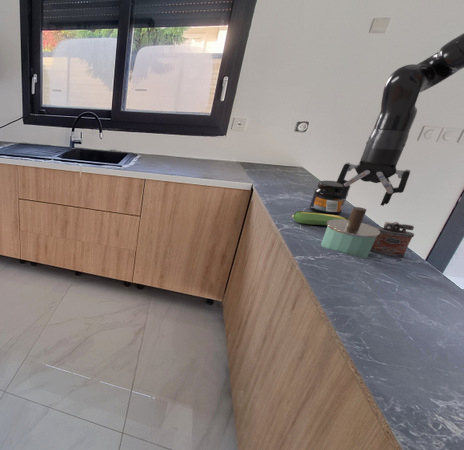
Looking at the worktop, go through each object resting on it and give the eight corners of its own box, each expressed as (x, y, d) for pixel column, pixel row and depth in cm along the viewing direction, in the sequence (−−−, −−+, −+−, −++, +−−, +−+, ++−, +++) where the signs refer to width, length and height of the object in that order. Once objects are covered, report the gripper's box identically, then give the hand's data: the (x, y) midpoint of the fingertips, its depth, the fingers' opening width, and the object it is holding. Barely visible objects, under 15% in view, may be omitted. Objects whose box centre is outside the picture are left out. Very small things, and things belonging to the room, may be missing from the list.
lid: (381, 230, 95) (391, 208, 92) (375, 243, 88) (385, 220, 85) (330, 219, 104) (338, 199, 101) (321, 230, 96) (329, 208, 93)
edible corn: (288, 219, 121) (292, 208, 119) (352, 225, 115) (356, 214, 113) (292, 224, 117) (296, 213, 115) (358, 231, 110) (363, 219, 109)
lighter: (369, 251, 97) (381, 222, 93) (367, 247, 100) (379, 218, 96) (405, 258, 93) (419, 228, 89) (402, 253, 95) (416, 224, 91)
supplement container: (331, 218, 122) (341, 188, 117) (302, 209, 131) (311, 182, 126) (346, 213, 126) (357, 185, 121) (318, 205, 135) (327, 178, 130)
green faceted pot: (370, 250, 98) (379, 228, 95) (364, 263, 91) (374, 240, 88) (325, 238, 106) (332, 218, 103) (317, 249, 99) (324, 228, 96)
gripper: (423, 147, 82) (397, 204, 89) (353, 141, 92) (334, 193, 99) (421, 151, 78) (394, 210, 85) (348, 144, 88) (329, 198, 94)
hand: (362, 201), depth 92 cm, fingers open, 8 cm apart
